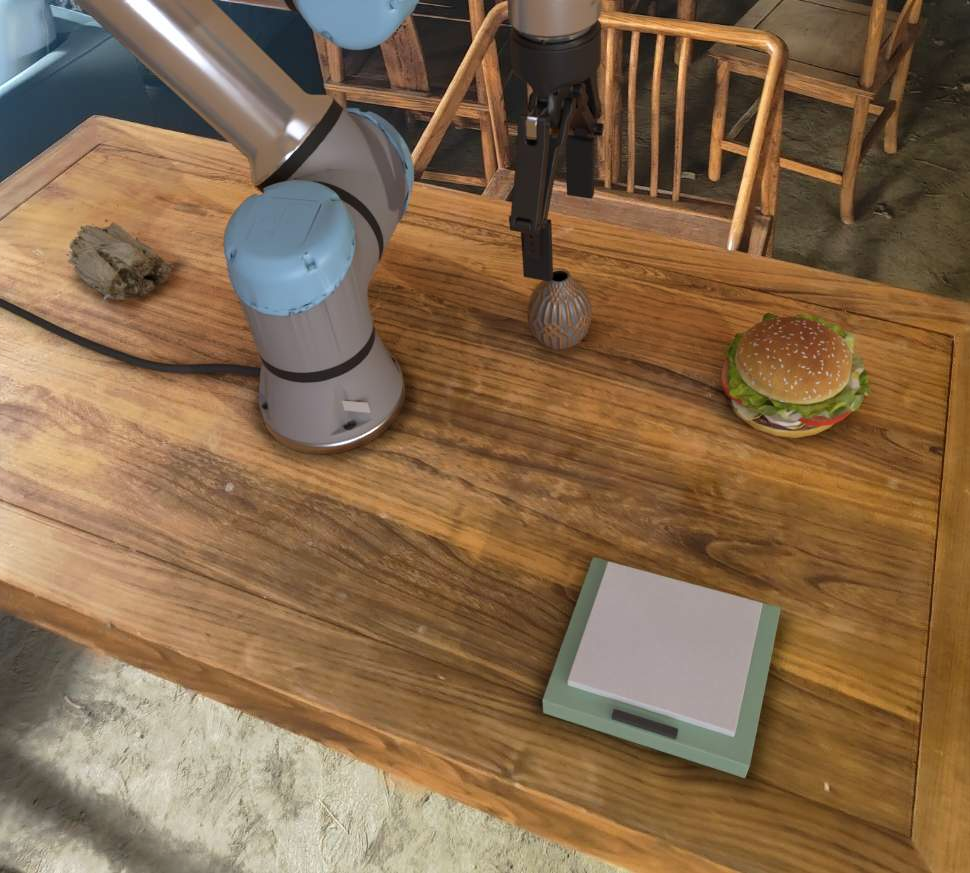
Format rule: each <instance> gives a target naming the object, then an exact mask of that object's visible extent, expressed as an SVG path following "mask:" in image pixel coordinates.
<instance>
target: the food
mask: <svg viewBox="0 0 970 873" xmlns="http://www.w3.org/2000/svg"><path fill="white" fill-rule="evenodd" d="M733 337H734V338H733V339H732V340H731V343H729V344H728V345H727V346H726V351H725V361H724V363H723V365H722V367H721V374H720V384H721V388H722V392H723V395H724V397H725V399H726V402H727V405H728V406H729V407H731V408H732V410H733V413H734V414H735V415H736V416H737V417H738V418H740V419H741V420H742V421H744V422H745V423H746V424H748V425H749V426H751V427H752V428H753V429H755V430H756V431H759V432H763V433H765V434H769V435H770V436H771V435H772V436H775V437H783V438H792V439H798V438H804V437H810V436H815V435H817V434H819V433H821V432H823V431H826V430H828V429H830V428H832V426H833V425H835V424H837V423H839V422H841V421H843V420H844V419H846V417H848V416H849V415H850V414H851V413H852V412H856V411H857V410H858V409H859V408H860V407H861V406H862V404H863V402H864V400H865V397H866V396H870V395H871V386H870V385H869V375H868V373H867V370H866V367H865V362H864V359H863V358H862V357H861V356H859V355H857V354H855V351H854V347H855V337H854V336H853V334H851V332H849V331H848V330H845V331H844V330H842V329H841V328H839V326H838V325H837V324H832V323H830V322H827V321H825V320H823V319H822V318H820V317H817V316H812V315H808V314H805V313H797V314H796V315H795V316H784V315H783V316H780V317H779V316H778V315H777V314H775V313H772V312H766V313H764V314H763V316H762V319H761V321H760V322H758V323H756V324H754V325H753V326H750V327H749V328H748V329H747V330H746V331H743V332H740V333H739V332H738V333H736V334H735V335H734V336H733Z"/></svg>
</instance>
